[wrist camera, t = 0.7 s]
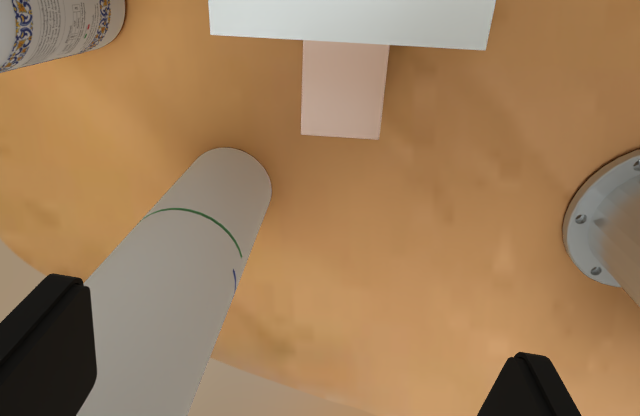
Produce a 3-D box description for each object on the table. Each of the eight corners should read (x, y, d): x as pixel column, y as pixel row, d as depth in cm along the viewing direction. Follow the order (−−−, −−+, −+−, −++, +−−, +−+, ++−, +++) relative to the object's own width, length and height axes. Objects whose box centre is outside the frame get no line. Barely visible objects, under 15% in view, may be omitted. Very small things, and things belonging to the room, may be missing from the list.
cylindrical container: (191, 221, 38) (-33, 546, 16) (184, 144, 35) (-110, 418, 13) (271, 228, 38) (157, 567, 16) (272, 151, 35) (128, 442, 12)
